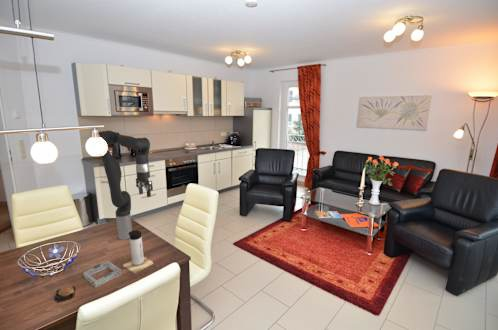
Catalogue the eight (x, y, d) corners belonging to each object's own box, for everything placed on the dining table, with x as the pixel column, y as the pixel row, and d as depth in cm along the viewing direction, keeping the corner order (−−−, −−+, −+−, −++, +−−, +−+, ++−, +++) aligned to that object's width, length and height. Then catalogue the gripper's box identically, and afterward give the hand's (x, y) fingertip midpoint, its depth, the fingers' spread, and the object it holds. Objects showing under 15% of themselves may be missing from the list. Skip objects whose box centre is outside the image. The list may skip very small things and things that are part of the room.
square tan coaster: (122, 266, 147) (122, 264, 147) (141, 256, 157) (141, 255, 157) (134, 274, 141) (133, 272, 140) (153, 263, 150) (153, 262, 150)
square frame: (84, 277, 137) (83, 270, 136) (109, 265, 148) (108, 259, 147) (95, 287, 130) (94, 280, 129) (121, 274, 140) (120, 267, 139)
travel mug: (131, 261, 150) (128, 230, 145) (143, 258, 153) (140, 228, 148) (132, 267, 145) (128, 235, 140) (144, 264, 148) (141, 232, 143)
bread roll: (55, 292, 127) (54, 285, 126) (75, 286, 132) (74, 279, 131) (54, 305, 118) (52, 298, 118) (75, 298, 123) (74, 291, 122)
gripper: (155, 171, 155) (157, 196, 159) (142, 167, 163) (144, 191, 167) (143, 173, 149) (146, 199, 153) (130, 169, 157) (133, 194, 161)
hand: (145, 195), depth 160 cm, fingers open, 8 cm apart
